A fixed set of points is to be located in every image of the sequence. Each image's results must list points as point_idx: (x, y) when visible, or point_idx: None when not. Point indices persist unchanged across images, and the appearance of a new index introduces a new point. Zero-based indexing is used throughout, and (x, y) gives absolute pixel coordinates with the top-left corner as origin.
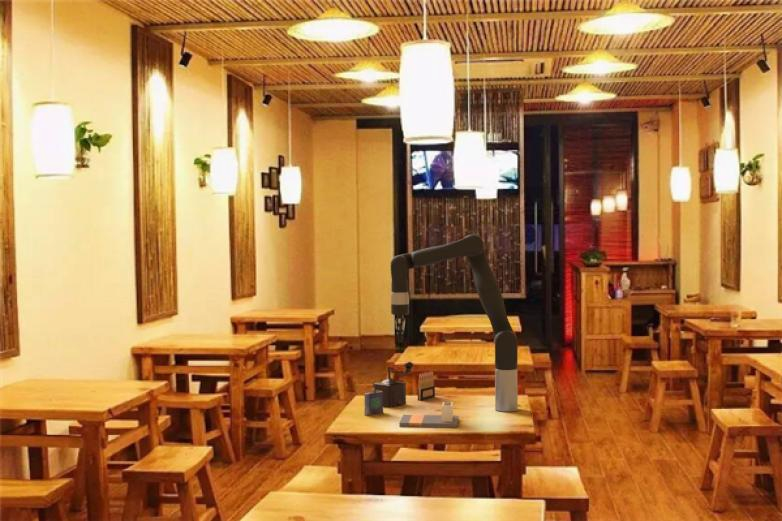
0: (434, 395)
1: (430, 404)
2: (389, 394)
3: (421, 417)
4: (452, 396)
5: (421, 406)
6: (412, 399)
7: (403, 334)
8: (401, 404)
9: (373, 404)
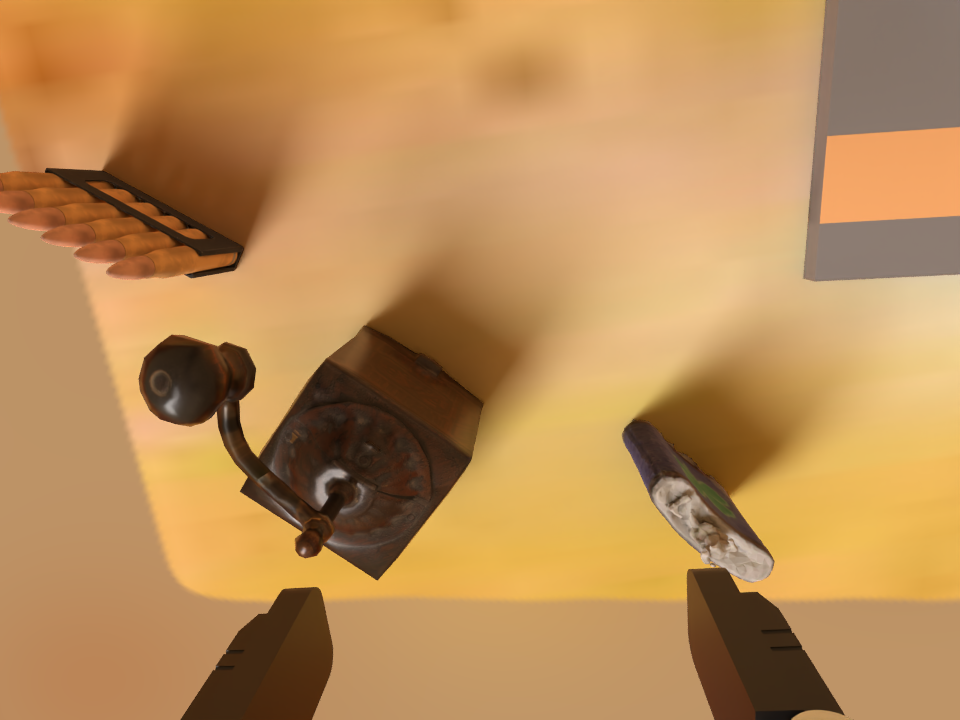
0: (99, 173)
1: (345, 167)
2: (475, 436)
3: (912, 145)
4: (43, 48)
5: (419, 218)
6: (212, 307)
7: (269, 668)
8: (405, 348)
9: (707, 491)
